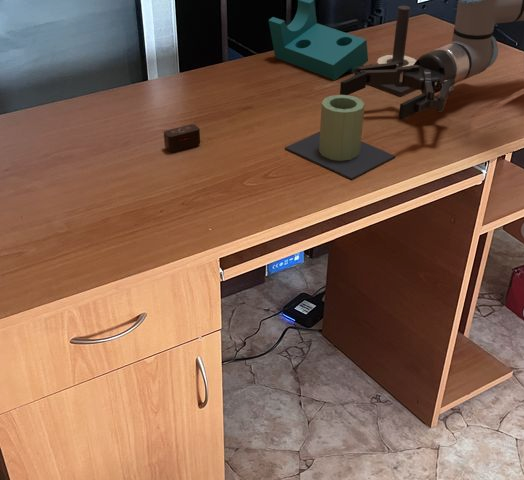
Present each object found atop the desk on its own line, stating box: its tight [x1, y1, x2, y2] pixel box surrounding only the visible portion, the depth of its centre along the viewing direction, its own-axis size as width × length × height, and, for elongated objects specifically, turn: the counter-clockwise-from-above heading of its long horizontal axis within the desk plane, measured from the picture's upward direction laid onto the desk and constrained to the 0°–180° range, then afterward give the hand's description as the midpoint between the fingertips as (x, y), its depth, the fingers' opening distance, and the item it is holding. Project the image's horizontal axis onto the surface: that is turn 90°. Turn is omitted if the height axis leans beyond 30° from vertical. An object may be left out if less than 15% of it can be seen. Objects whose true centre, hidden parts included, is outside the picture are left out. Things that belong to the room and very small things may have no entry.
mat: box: [284, 131, 396, 181], centre depth 142 cm, size 16×12×1 cm
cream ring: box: [376, 54, 417, 82], centre depth 166 cm, size 8×8×3 cm
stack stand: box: [369, 5, 417, 98], centre depth 163 cm, size 12×12×15 cm
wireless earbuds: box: [163, 123, 201, 153], centre depth 143 cm, size 5×7×3 cm, turn 122°
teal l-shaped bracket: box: [268, 0, 369, 81], centre depth 171 cm, size 18×11×10 cm, turn 44°
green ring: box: [319, 94, 365, 161], centre depth 139 cm, size 7×7×9 cm
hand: (370, 100), depth 140 cm, fingers open, 13 cm apart
